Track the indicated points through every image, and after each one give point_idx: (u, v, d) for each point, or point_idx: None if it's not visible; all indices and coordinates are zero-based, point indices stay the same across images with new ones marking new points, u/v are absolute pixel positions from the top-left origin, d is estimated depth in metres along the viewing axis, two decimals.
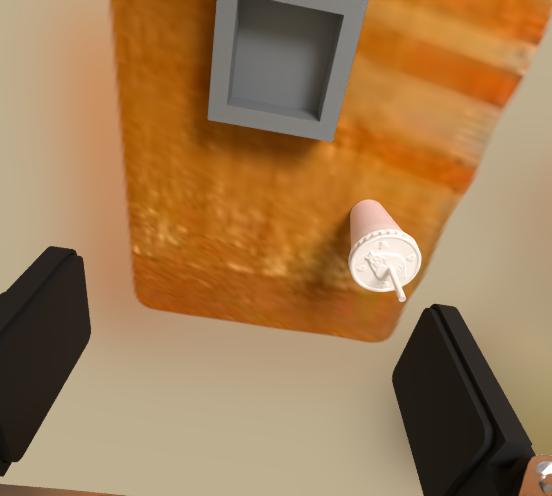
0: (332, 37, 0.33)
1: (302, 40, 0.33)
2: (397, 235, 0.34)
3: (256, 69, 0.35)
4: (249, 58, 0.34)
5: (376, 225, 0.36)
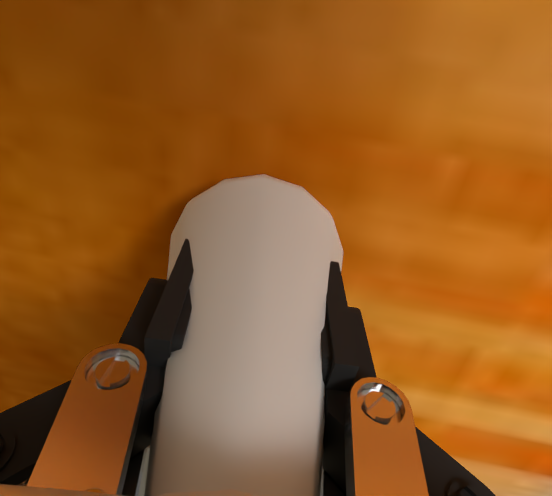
0: None
1: None
2: None
3: None
4: None
5: None
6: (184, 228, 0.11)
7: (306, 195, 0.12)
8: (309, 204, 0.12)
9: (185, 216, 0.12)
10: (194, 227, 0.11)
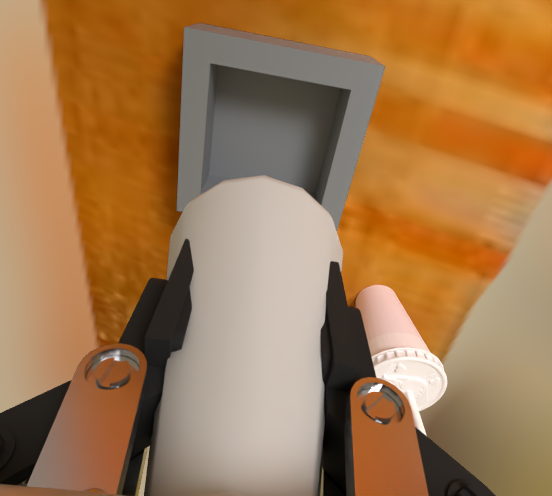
0: (335, 107, 0.26)
1: (296, 110, 0.26)
2: (418, 358, 0.26)
3: (239, 144, 0.28)
4: (230, 131, 0.27)
5: (390, 335, 0.29)
6: (184, 229, 0.11)
7: (306, 196, 0.12)
8: (309, 205, 0.12)
9: (185, 217, 0.12)
10: (194, 228, 0.11)
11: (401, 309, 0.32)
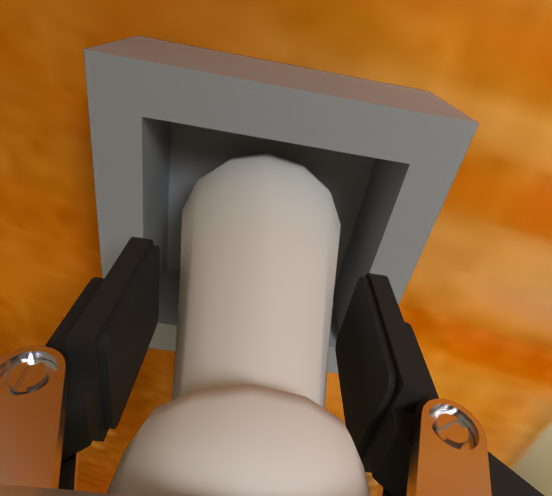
0: (368, 174, 0.16)
1: None
2: None
3: None
4: None
5: None
6: (197, 200, 0.12)
7: (306, 171, 0.13)
8: (309, 179, 0.13)
9: (196, 191, 0.13)
10: (206, 199, 0.12)
11: None
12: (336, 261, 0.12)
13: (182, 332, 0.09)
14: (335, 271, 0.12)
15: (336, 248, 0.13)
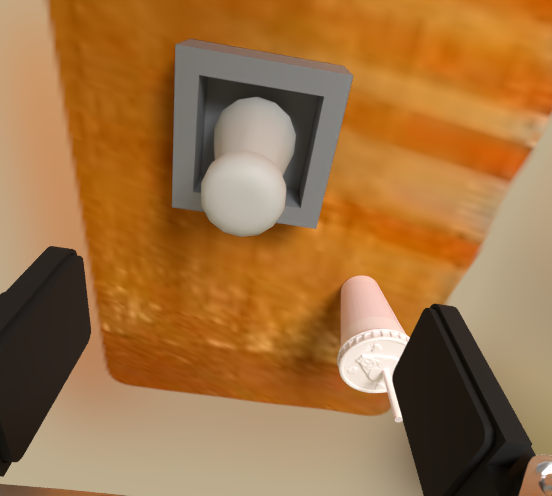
0: (313, 112, 0.29)
1: None
2: (392, 338, 0.29)
3: None
4: None
5: (368, 319, 0.31)
6: (222, 117, 0.26)
7: (276, 104, 0.26)
8: (277, 108, 0.26)
9: (222, 114, 0.26)
10: (227, 115, 0.25)
11: (381, 297, 0.35)
12: (289, 145, 0.25)
13: (220, 157, 0.22)
14: (288, 148, 0.25)
15: (290, 140, 0.26)
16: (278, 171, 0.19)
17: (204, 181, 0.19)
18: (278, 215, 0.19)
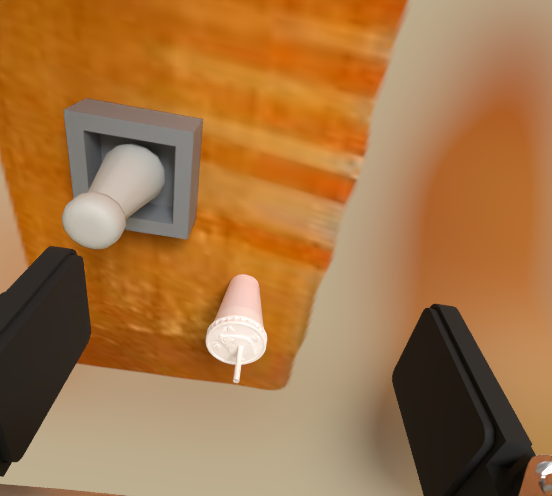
0: None
1: None
2: (240, 322, 0.39)
3: None
4: None
5: (231, 308, 0.41)
6: (104, 159, 0.35)
7: (145, 149, 0.36)
8: (145, 152, 0.36)
9: (105, 156, 0.36)
10: (106, 158, 0.35)
11: (251, 291, 0.45)
12: (151, 180, 0.35)
13: None
14: (149, 183, 0.35)
15: (153, 177, 0.35)
16: (114, 207, 0.29)
17: (63, 213, 0.29)
18: (115, 236, 0.29)
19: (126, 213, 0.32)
